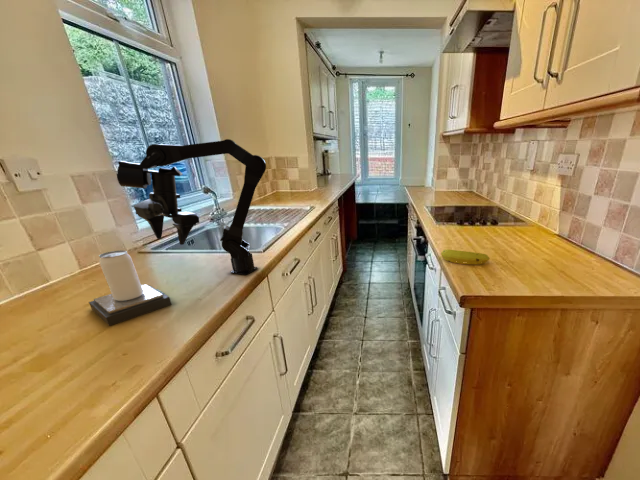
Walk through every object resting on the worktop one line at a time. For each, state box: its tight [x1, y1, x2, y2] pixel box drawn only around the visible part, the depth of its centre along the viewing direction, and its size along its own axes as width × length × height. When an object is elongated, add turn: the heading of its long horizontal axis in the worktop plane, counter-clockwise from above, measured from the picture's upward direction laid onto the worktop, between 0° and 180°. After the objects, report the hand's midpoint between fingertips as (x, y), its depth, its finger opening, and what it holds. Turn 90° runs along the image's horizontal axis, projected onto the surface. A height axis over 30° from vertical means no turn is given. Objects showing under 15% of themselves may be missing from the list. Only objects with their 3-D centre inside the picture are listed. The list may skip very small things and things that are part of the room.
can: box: [98, 249, 143, 301], centre depth 82 cm, size 6×6×12 cm
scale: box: [88, 284, 172, 327], centre depth 86 cm, size 14×14×2 cm
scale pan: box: [93, 283, 163, 314], centre depth 85 cm, size 12×12×1 cm
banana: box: [440, 248, 490, 265], centre depth 120 cm, size 5×17×15 cm
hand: (170, 241), depth 99 cm, fingers open, 9 cm apart
